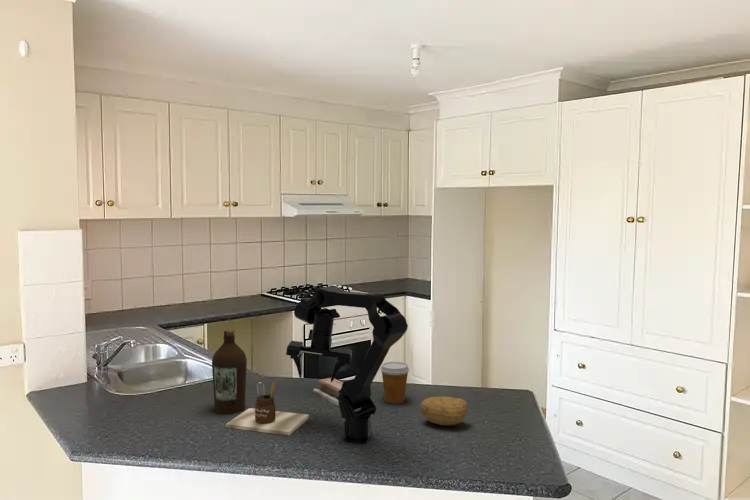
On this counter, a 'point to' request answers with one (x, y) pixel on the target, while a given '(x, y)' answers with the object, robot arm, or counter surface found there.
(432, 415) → the potato
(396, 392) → the disposable coffee cup
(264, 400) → the utensil holder
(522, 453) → the counter surface
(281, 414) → the birch board
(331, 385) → the packaged product
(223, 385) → the olive oil
